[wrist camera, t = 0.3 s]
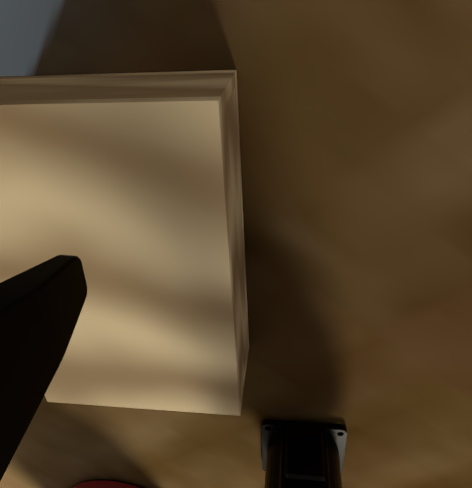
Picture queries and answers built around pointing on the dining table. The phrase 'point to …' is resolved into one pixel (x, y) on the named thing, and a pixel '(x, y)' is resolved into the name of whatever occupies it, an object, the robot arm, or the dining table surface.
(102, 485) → the canister
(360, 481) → the dining table surface
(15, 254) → the cabinet
